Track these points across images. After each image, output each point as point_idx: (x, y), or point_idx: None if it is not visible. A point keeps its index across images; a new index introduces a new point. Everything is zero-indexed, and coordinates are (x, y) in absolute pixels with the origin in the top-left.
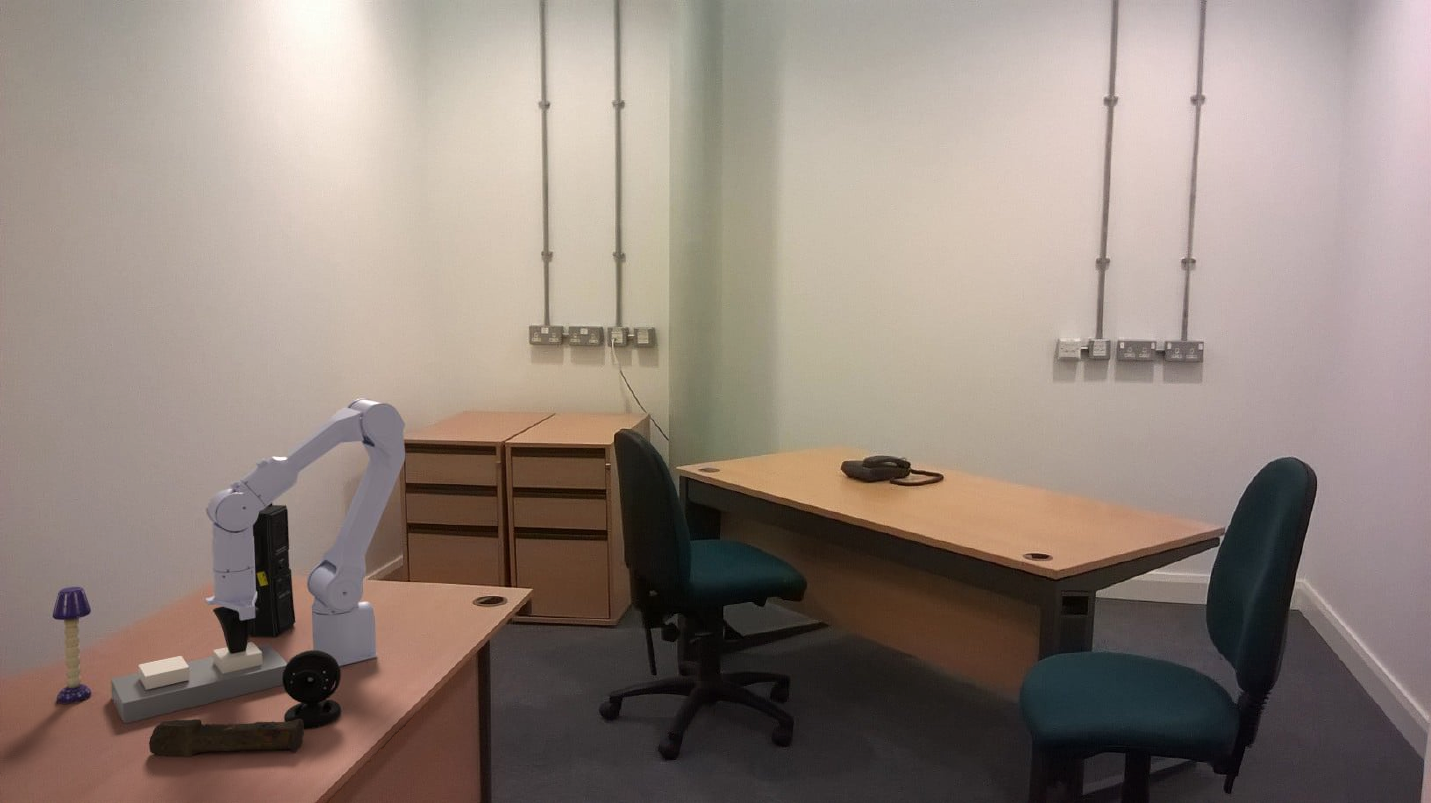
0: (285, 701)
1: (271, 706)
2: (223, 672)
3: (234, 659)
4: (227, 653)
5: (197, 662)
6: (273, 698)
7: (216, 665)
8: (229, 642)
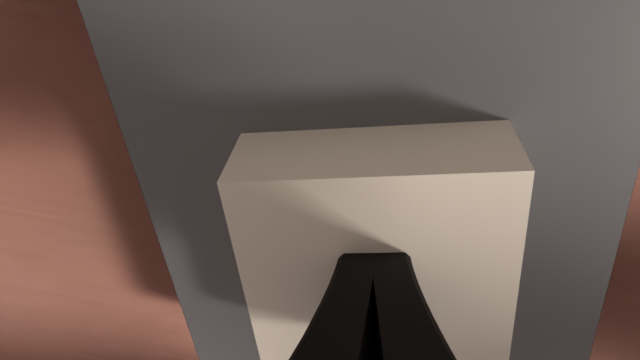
0: (45, 266)
1: (7, 219)
2: (238, 141)
3: (236, 247)
4: (369, 237)
5: (606, 15)
6: (92, 241)
7: (419, 125)
8: (311, 323)
